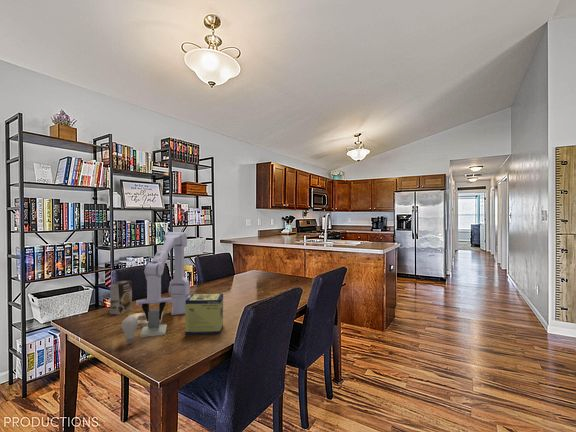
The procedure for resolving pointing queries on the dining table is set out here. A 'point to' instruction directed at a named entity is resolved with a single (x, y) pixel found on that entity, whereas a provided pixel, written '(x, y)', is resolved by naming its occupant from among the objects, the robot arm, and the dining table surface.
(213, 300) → the protein box
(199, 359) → the dining table surface
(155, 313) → the peg
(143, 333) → the pad
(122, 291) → the coffee box
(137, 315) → the pocket board
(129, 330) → the lightbulb
